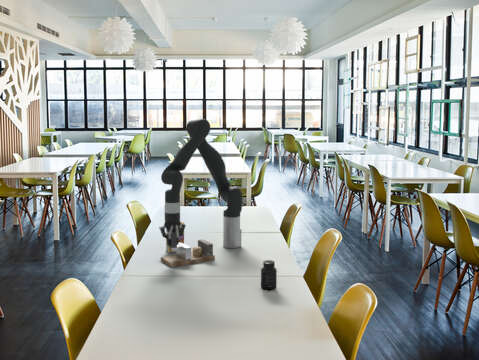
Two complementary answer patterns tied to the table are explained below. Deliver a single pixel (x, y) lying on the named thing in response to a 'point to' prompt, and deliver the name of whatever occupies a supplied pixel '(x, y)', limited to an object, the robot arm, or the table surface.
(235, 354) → the table surface
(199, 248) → the walnut
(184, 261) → the board
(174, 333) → the table surface
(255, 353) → the table surface
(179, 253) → the jaw
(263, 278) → the supplement bottle
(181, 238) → the candy box
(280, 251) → the table surface
